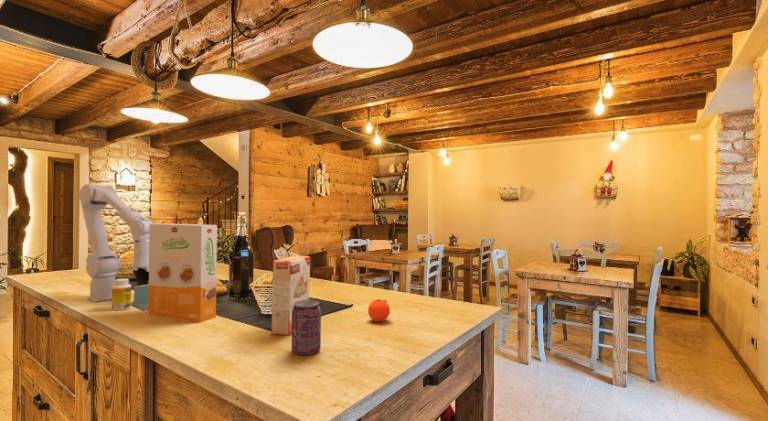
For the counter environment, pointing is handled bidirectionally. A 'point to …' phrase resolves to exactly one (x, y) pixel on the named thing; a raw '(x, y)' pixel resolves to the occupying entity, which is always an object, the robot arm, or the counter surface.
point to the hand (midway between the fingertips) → (142, 288)
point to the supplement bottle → (121, 294)
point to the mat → (142, 306)
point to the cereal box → (183, 271)
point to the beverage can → (306, 327)
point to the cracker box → (288, 290)
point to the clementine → (379, 310)
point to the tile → (141, 294)
